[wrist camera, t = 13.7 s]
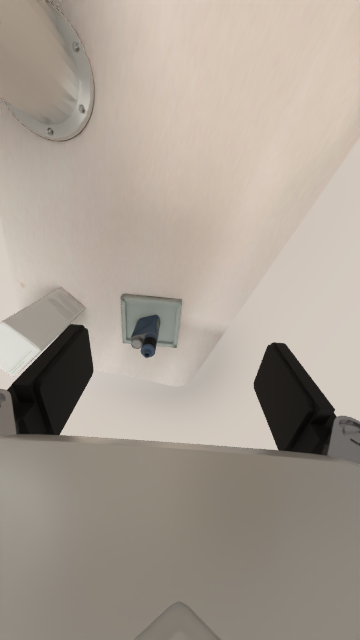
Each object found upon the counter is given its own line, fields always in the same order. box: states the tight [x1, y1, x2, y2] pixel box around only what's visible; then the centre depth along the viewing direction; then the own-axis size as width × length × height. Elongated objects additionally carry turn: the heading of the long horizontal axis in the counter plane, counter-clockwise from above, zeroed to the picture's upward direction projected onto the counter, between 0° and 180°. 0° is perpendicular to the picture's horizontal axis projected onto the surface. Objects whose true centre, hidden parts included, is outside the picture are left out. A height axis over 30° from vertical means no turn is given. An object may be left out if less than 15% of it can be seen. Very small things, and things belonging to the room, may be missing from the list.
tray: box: [121, 294, 182, 348], centre depth 43 cm, size 11×12×2 cm
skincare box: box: [0, 287, 85, 377], centre depth 36 cm, size 8×7×16 cm
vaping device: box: [131, 315, 160, 358], centre depth 38 cm, size 3×5×12 cm, turn 104°
